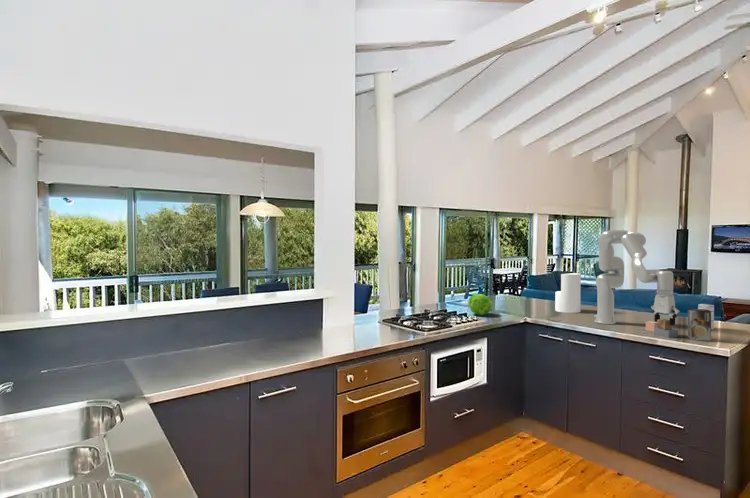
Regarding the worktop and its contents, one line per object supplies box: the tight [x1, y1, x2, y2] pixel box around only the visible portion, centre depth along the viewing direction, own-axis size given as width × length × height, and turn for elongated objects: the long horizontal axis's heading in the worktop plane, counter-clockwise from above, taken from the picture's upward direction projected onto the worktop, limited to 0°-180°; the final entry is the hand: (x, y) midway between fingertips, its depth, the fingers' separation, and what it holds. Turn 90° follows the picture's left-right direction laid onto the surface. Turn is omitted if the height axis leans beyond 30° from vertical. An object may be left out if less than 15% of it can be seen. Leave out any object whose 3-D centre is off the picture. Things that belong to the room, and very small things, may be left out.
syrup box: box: [697, 303, 715, 330], centre depth 266 cm, size 6×6×14 cm
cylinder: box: [554, 272, 582, 314], centre depth 331 cm, size 17×17×28 cm
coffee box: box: [687, 308, 712, 342], centre depth 238 cm, size 9×6×16 cm
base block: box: [653, 328, 679, 339], centre depth 248 cm, size 8×8×4 cm
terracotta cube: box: [645, 320, 657, 332], centre depth 262 cm, size 5×5×5 cm
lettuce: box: [467, 293, 493, 316], centre depth 317 cm, size 17×20×15 cm
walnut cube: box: [657, 318, 673, 330], centre depth 248 cm, size 5×5×5 cm
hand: (664, 323), depth 248 cm, fingers open, 9 cm apart
